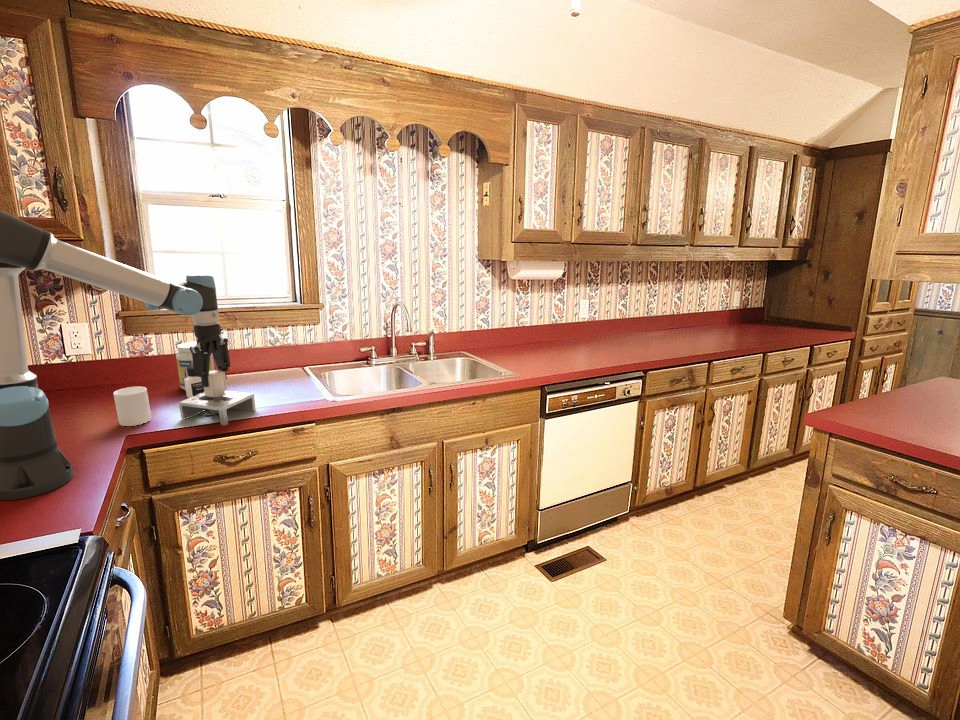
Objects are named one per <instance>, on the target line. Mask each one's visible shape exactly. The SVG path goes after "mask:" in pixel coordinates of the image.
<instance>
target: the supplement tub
mask: <svg viewBox="0 0 960 720" xmlns="http://www.w3.org/2000/svg"><path fill="white" fill-rule="evenodd" d="M196 344H197V341H188V342H183V343H180V344H177V349H176V350H177V353H176V355H175V358H176V359H175V360H176V364H177V373H178V379H179V384H180V385H179V386H180V389H183V391H186V388H185V382H184V379H185V378H188V374H187V367H189V366H191V365H193V358H192V353H191V351H190V347H191V346H192V347H194V346H195V345H196ZM214 364H215V363H214V357H213V355H212V354H211V356H210V364H209V371H214V370H215V365H214Z"/></svg>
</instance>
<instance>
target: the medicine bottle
mask: <svg viewBox="0 0 960 720" xmlns="http://www.w3.org/2000/svg"><path fill="white" fill-rule="evenodd" d="M187 374H188V378H185V379H184V382H185V388H186V390H185V393H186V397H187V399H188V398H190V397H193V396H195V395H198V394H200V393H203V392H204V387H203V386H202V380H201V377H196V376H195V374H194V366H193V365H191V366H189V367H187Z"/></svg>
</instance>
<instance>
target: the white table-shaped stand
mask: <svg viewBox="0 0 960 720" xmlns="http://www.w3.org/2000/svg"><path fill="white" fill-rule="evenodd" d="M220 398H221V400H214V397H208V396H205V392H203V393H200V394H198V395H195V396H193V397H190V398H188V397H187V398H185V399H183V400H181V401H178V405H179V412H180V413H179V414H180V419H181V418H182V419H184V418H187V417H189V418H191V417H190V416H192V417H194V416H196V415H198V414H197V413H199V412H201V411H203V410H205V411H207V410H206V409H208V410H210V409H212V410H219V413H218V414H219V421H220V423H219V424H220V426H224V427H225V426H227V425H229V418H228V414H227V413H228V412H227V411H228V410H229V409H235V410H241V411H249V412H254V411H256V400H255V394H254V393H251V392H243V391H234V390H228V389H227V390H226V391H225V395H223V396H220ZM226 409H227V410H226ZM203 412H204V411H203ZM201 413H202V412H201ZM195 414H196V415H195ZM199 414H200V413H199ZM193 415H194V416H193ZM182 419H181V420H182ZM187 419H188V418H187Z"/></svg>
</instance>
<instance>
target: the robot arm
mask: <svg viewBox="0 0 960 720" xmlns="http://www.w3.org/2000/svg"><path fill="white" fill-rule="evenodd" d="M26 269H27V270H30V271H33V272H35V271H39V270H45V271H47V272H51V273H54V274H57V275H60V276H63V277H67V278H69V279H73V280H76V281H78V282H79V281H80V282H82V283H85V284H88V285H91V286H94V287H98V288H99V289H104V290H106V291H110V292H113V293H115V294H119V295H121V296H122V295H123V296H125V297H128V298H131V299H134V300H138V301H140V302H143V305H144V307H145V308H146V309H147V310H148V311H161V310H167V311H171V312H174V313H175V314H178V315H181V316H191V319H192V323H193V332H194V336H195V337H196V342H197V344H196V345H195V346H194V347H192V346H191V347H190V351H191V353H192V358H193V366H194V374H195V376H196V377H201V380H202V386H203V387H204V392H205V396H214V394H213V387H212V380H211V377H210V376H209V364H210V356H211V354H212V356H213V361H214V362H215V363H214V364H215V365H216V367H217V370H220V371H222V372H223V379H224V386H225V391H226V390H227V391H228V386H227V372H228V371H229V368H231V361H230V354H229V347H228V344H229V339H228V338H226V337H221V334H222V330H221V323H219V322H220V314H219V313H220V312H219V307H218V306H219V305H218V300H217V291H216V290H217V287H216V284H215V283H216V282H215V280H214V279H215V278H214V276H213V275H212V274H210V273H190V274H187V275H186V276H185V278H186V279H185V280H184V281H180V282H172V281H170V280H168V279H164V278H162V277H159V276H156V275H153V274H151V273H148V272H146V271H143V270H141V269H137V268H135V267H132V266H129V265H127V264H123V263H122V262H118V261H116V260H113V259H110V258H108V257H105V256H102V255H100V254H97V253H95V252H91V251H89V250H86V249H84V248H81V247H79V246H75V245H73V244H70V243H67V242H65V241H62V240H59V239H57V238H55V237H54V234H53V233H52V232H50V231H48V230H45V229H42V228H40V227H38V226H35V225H33V224H31V223H28V222H27V221H24V220H23V219H20V218H19V217H17V216H14V215H12V214H11V213H9V212H7V211H4V210H1V209H0V501H13V500H23V499H27V498H32V497H37V496H40V495H43V494H46V493H48V492H51V491H53V490H56V489H58V488H60V487H62V486H64V485H66V484H67V483H68V482H70V481H71V480H72V479H73V477H74V476H75V473H74V469H73V466H72V464H71V462H70V461H69V460H68V458H67V457H66V456H65V455H64V454H63V452H62V451H61V449H60V448H59V446H58V445H59V444H58V441H57V437H56V434H55V432H56V431H55V429H54V424H53V421H52V416H51V412H50V408H49V405H50V403H49V400H48V398H47V396H46V394H45V392H44V391H43V390H42V389H40V388H39V385H38V376H37V374H36V373H34V372H32V371H30V370H29V367H28V358H27V356H28V355H27V348H26V339H25V337H26V335H25V329H24V328H25V327H24V319H23V318H24V317H23V312H22V311H23V309H22V302H21V290H20V280H19V275H20V274H21V273H22V272H23V271H25V270H26Z"/></svg>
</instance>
